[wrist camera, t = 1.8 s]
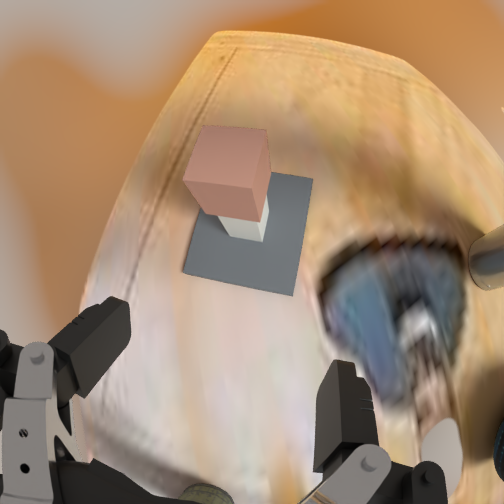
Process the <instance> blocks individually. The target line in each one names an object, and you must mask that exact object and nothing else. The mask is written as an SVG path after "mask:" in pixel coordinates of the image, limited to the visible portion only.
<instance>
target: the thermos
mask: <svg viewBox="0 0 504 504" xmlns="http://www.w3.org/2000/svg"><path fill="white" fill-rule="evenodd" d="M178 499H180V500H189V501H195V502H199V503H202V504H234V502H233V500H232V498H231V496H230V495H229V494H228V493H227V492H225V491H224V490H222V489H220V488H218V487H216V486H213V485H208V484H195V485H192V486H189V487H188V488H187V489H186V490H185V491H184V493H183V494H182V495H181V496H180V497H179V498H178Z"/></svg>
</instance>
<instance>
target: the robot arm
mask: <svg viewBox="0 0 504 504" xmlns="http://www.w3.org/2000/svg"><path fill="white" fill-rule="evenodd" d="M469 269H470V272H471V275H472V278H473V280H474V281H475V283H476V284H477V285H478V286H479V287H480V288H482V289H484V290H493V289H497V288H500V287H504V224H503V225H502V226H500V227H498V228H496V229H495V230H493V231H491V232H489V233H488V234H486V235H485V236H483V237H481V238H479V239H478V240H476V241H475V242H474V243H473V244H472V246H471V248H470V251H469ZM130 338H131V322H130V307H129V304H128V302H126V301H123V300H121V299H118V298H115V297H113V296H110V297H108V298H107V299H106V300H105V301H104V302H103V303H101V304H100V305H99V304H96V305H93V306H91V307H88V308H86V309H85V310H84V311H83V312H82V313H80V314H79V315H78V317H76V318H75V319H73V320H72V322H71V323H69V324H68V325H67V326H66V327H64V328H63V329H62V330H61V331H60V332H59V333H58V334H57V335H55V336H54V337H53V338H52V339H51V340H50V341H49V342H48V343H44V342H33V343H30V344H28V345H26V346H25V347H22V346H18V345H15V344H12V343H10V341H9V339H8V336H7V334H6V333H5V332H4V331H2V330H0V431H1V430H2V470H3V474H0V504H202V503H199V502H195V501H189V500H180V499H172V498H165V497H159V496H155V495H152V494H150V493H149V492H147V491H146V490H145V489H143V488H142V487H140V486H139V485H138V484H136V483H135V482H133V481H132V480H131V479H129V478H128V477H127V476H126V475H124V474H123V473H121V472H119V471H117V470H115V469H113V468H111V467H109V466H107V465H105V464H103V463H101V462H100V461H98V460H96V459H94V458H93V460H92V461H91V463H85V462H83V461H82V457H81V454H80V451H79V448H78V446H77V442H76V436H75V427H74V417H73V402H72V399H71V398H72V396H73V395H74V394H75V393H76V394H78V395H79V396H81V397H83V398H84V399H85V398H86V396H87V395H88V394H89V393H90V391H91V390H92V389H93V387H94V386H95V385H96V384H97V382H98V381H99V380H100V379H101V377H102V376H103V375H104V374H105V372H106V371H107V370H108V369H109V367H110V366H111V365H112V364H113V362H114V361H115V360H116V359H117V357H118V356H119V355H120V354H121V353H122V351H123V350H124V349H125V348H126V346H127V345H128V343H129V341H130ZM373 409H374V407H373V402H372V395H371V389H370V387H369V386H368V384H367V382H366V381H365V379H364V378H361V377H357V375H356V368H355V364H354V363H353V362H347V361H341V360H336V359H335V360H333V362H332V363H331V365H330V367H329V369H328V371H327V373H326V375H325V377H324V379H323V381H322V383H321V385H320V387H319V390H318V393H317V398H316V426H315V448H314V465H313V472H316V473H323V479H322V481H321V482H320V483H319V484H318V485H317V486H316V487H315V488H314V489H313V490H312V491H311V492H310V493H309V494H308V495H306V496H305V497H304V498H303V499H302V500H301V501H300V502H299V503H297V504H448V499H447V490H446V483H445V476H444V472H443V470H442V469H441V467H440V466H439V465H438V464H436V463H434V462H431V461H423V462H421V463H419V464H418V465H416V466H415V467H414V468H413V467H409V466H406V465H402V464H399V463H395V462H393V461H391V459H390V457H389V455H388V453H387V452H386V451H385V450H384V449H383V448H381V447H380V446H379V441H378V434H377V427H376V420H375V413H374V411H373Z"/></svg>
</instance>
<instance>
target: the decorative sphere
mask: <svg viewBox="0 0 504 504" xmlns="http://www.w3.org/2000/svg"><path fill="white" fill-rule="evenodd" d="M493 458H494V465H495V469H496V471H497V473H498V475H499V477H500V478H501V479H502V480H503V481H504V419H503V421H502V423H501V425H500V428H499V430H498V433H497V436H496V439H495V443H494V454H493Z"/></svg>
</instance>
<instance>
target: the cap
mask: <svg viewBox="0 0 504 504" xmlns="http://www.w3.org/2000/svg"><path fill="white" fill-rule="evenodd" d="M270 176H271V167H270V158H269V149H268V140H267V131H266V130H262V129H252V128H240V127H227V126H209V125H203V126H202V128H201V131H200V133H199V136H198V138H197V141H196V144H195V146H194V149H193V152H192V154H191V157H190V160H189V162H188V165H187V168H186V171H185V173H184V176H183V179H182V180H183V182H184V183H185V185H186V186H187V188H188V189H189V190H190V192H191V193H192V195H193V196H194V198H195V199H196V201H197V202H198V203H199V205H200V206H201V208H202V209H203V211H204V212H205V213H206V214H210V215H216V216H223V217H229V218H235V219H241V220H247V221H253V222H259V223H260V221H261V217H262V212H263V208H264V203H265V199H266V194H267V190H268V185H269V181H270Z"/></svg>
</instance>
